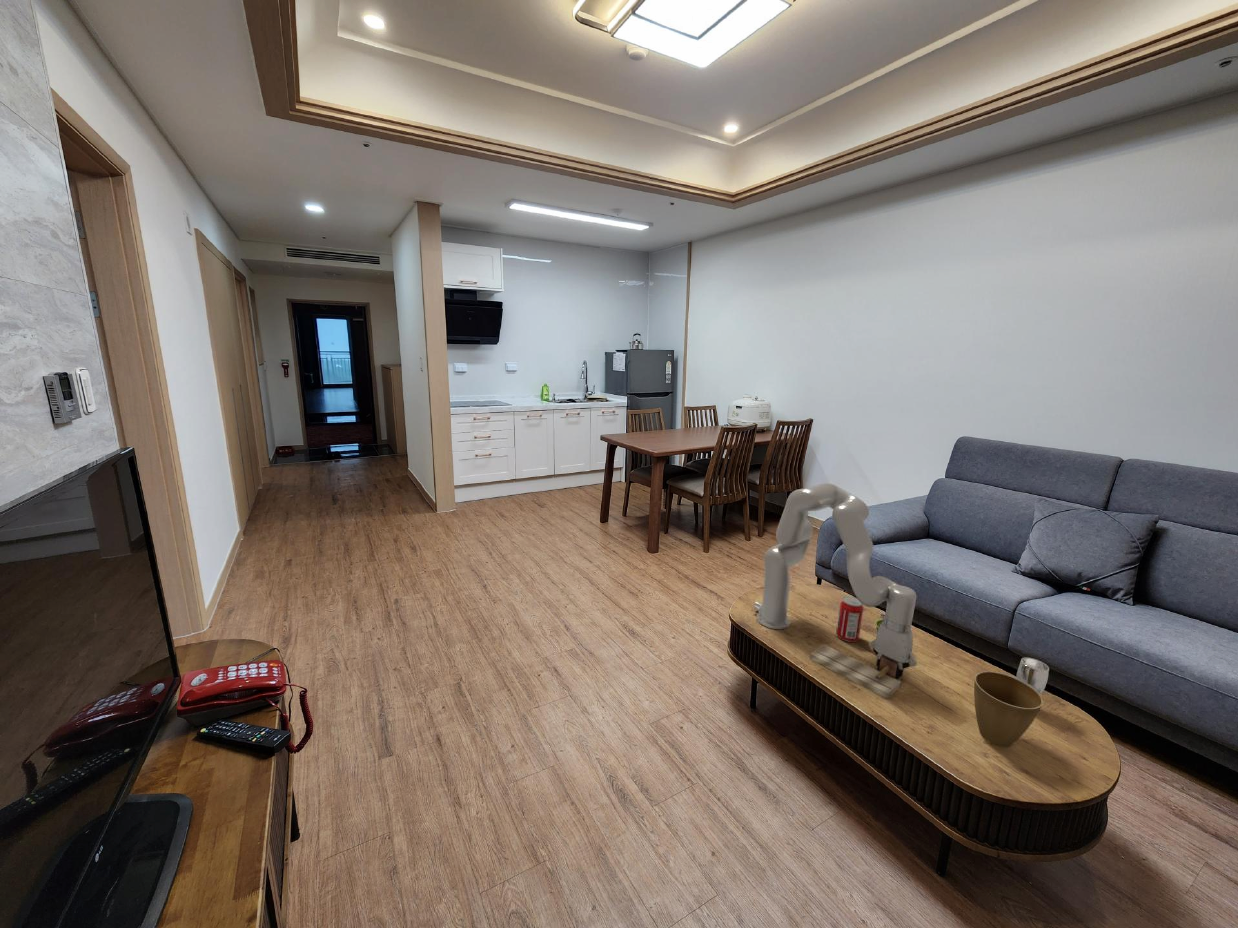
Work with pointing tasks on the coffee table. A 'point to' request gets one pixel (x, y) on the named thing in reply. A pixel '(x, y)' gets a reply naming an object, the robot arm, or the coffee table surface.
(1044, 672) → the beer glass
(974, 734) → the coffee table surface
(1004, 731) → the plant pot
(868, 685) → the board
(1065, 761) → the coffee table surface
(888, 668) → the cube with stick handle
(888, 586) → the robot arm
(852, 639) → the soda can
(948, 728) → the coffee table surface
